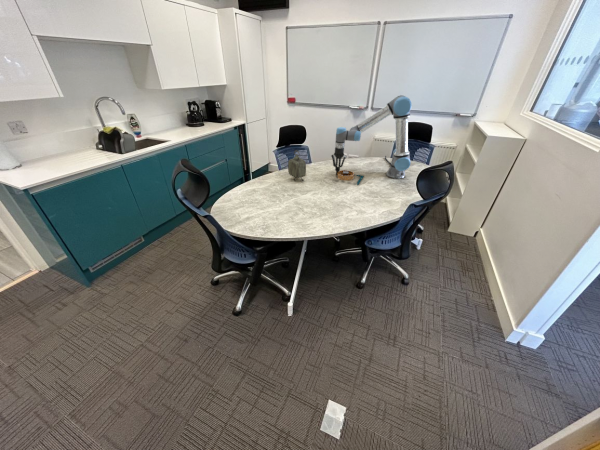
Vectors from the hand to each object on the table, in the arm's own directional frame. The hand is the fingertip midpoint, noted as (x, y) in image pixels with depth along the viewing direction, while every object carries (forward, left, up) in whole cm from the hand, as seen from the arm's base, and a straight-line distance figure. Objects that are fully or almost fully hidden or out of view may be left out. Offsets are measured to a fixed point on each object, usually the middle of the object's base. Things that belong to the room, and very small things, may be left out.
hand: (337, 174), depth 215 cm
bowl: (0, +8, -2) cm, 8 cm away
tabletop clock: (+22, -29, -2) cm, 37 cm away
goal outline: (0, +10, -2) cm, 10 cm away
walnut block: (0, +8, -1) cm, 8 cm away
